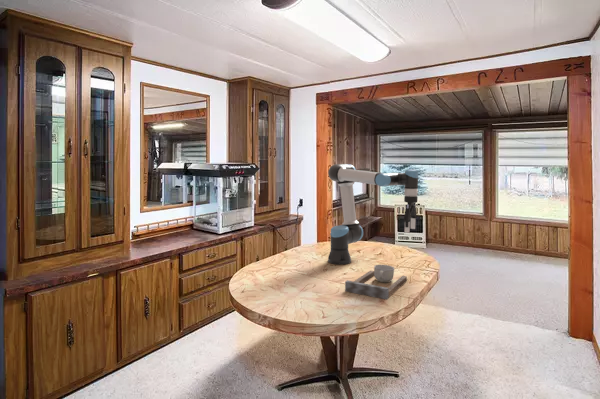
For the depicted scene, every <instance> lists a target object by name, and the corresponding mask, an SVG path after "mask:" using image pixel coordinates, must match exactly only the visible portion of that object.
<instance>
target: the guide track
mask: <svg viewBox="0 0 600 399" xmlns="http://www.w3.org/2000/svg"><path fill="white" fill-rule="evenodd" d="M373 277H375V276H374V270H369V271H367V272H366V273H365V274H363V275H361V276H360V277H358V278H357V279H355V280H348V279H347V280H346V281H345V282H344V286H345V287H344V291H345V292H348V293H352V294H353V293H354V294H358V295H363V296H366V297H367V296H368V297H373V298H379V299H383V300H388V299H389V298H390V296H392V295H393V294H394V293H395V292H397V290H398V289H400V288H401V287H402V285H404V284H405V283H406V282H407V280H408V276H407V275H406V276H405V275H402V276H400V277H399V278H398V279H397V280H396V281H394V282H393V283H392V284H390V285H389V287H386V286H380V285H375V284H368V283H365V282H367V281H369V279H371V278H373Z"/></svg>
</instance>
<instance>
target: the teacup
mask: <svg viewBox="0 0 600 399" xmlns="http://www.w3.org/2000/svg"><path fill="white" fill-rule="evenodd" d="M373 268H374V270H373V271H374V276H373V277H374V278H375V279H376V280H377V282H380V283H389V282H391V281H393V279H394V276H395V267H394V266H392V265H390V264H389V265H388V264H375V265H374V267H373Z"/></svg>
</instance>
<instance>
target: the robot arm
mask: <svg viewBox="0 0 600 399" xmlns="http://www.w3.org/2000/svg"><path fill="white" fill-rule="evenodd" d="M327 175H328V177H329V179H330V180H331V181H334V182H336V183H337V185H338V186H339V189H340V197H341V198H340V199H341V206H342V216H343V222H342V223H341V225H335V226H332V227H331V228H330V233H329V235H330V251H329V254H328V258H327V262H328V263H329V264H332V265H339V266H340V265H348V264H350V263H352V258H351V255H350V254H351V253H350V251H349V245H350V244H353V243H357V242H359V241H361V240H362V239H363V236H364V229H363V227H362V226H361V225H360V222H359V221H358V220H357V214H356V203H355V194H354V193H355V192H354V186H353V185H355V183H361V184H369V185H375V186H378V187H381V188H382V187H389V186H404V196H403V197H404V199H403V200H404V201H403V202H404V203H407V204H405V209H404V210H405V211H404V216H403V219H402V220H403V221H402V222H404V233H405V234H406V233H407V234H410V229H411V230H416V219H418V216H417V209H416V205H417V204H416V203H418V193H419V190H418V187H419V185H418V184H419V170H417V169H405V171H404V172H394V171H393V172H386V173H385V172H376V171H368V170H358V169H356V167H355V166H354V165H352V164H350V163H335V164H332V165H330V167H329V169H328V172H327Z"/></svg>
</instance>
